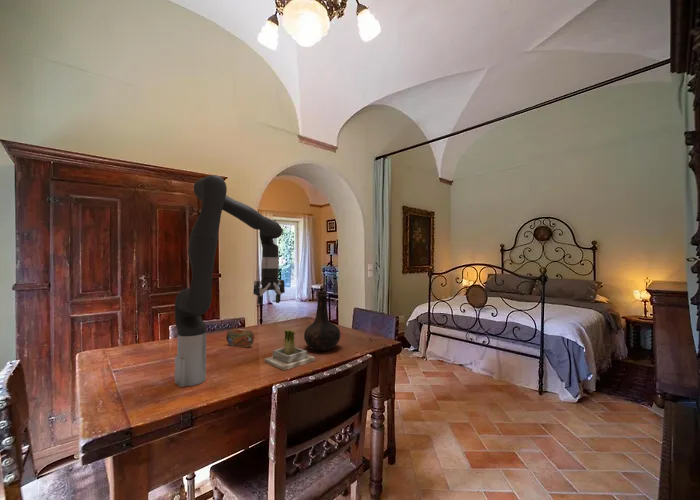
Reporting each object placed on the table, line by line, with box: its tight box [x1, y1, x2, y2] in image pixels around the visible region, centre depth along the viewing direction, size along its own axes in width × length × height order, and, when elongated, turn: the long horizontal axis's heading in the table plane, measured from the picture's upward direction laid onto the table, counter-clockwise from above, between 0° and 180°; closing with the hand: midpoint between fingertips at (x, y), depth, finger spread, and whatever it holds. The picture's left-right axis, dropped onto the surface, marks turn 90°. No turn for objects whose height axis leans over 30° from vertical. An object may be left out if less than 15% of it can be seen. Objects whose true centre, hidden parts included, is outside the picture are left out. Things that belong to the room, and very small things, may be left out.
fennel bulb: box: [283, 329, 296, 355], centre depth 131 cm, size 6×5×12 cm
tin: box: [225, 328, 255, 348], centre depth 153 cm, size 15×3×8 cm, turn 73°
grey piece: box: [264, 346, 316, 371], centre depth 131 cm, size 16×14×4 cm
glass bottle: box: [303, 290, 341, 352], centre depth 150 cm, size 18×18×28 cm
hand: (269, 303), depth 137 cm, fingers open, 8 cm apart
